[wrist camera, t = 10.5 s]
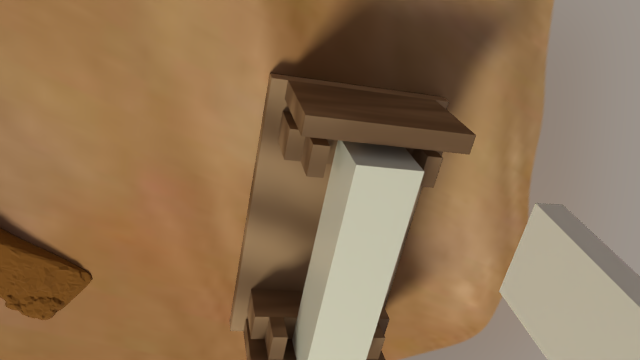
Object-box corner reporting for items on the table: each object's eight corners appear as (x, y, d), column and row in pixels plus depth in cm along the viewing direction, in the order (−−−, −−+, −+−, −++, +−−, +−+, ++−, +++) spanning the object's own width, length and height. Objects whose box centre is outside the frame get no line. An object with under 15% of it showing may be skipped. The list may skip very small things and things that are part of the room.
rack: (269, 73, 34) (286, 112, 28) (443, 97, 37) (491, 137, 31) (229, 322, 43) (235, 393, 37) (373, 323, 46) (401, 390, 40)
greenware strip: (344, 340, 41) (359, 382, 37) (292, 340, 39) (301, 383, 36) (400, 142, 34) (424, 171, 30) (338, 135, 33) (356, 164, 29)
